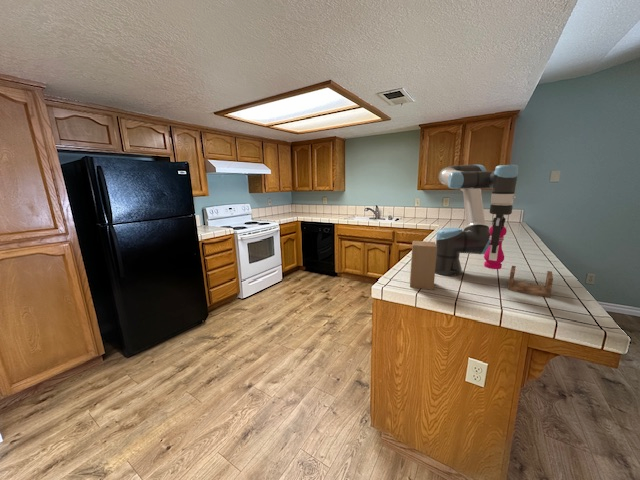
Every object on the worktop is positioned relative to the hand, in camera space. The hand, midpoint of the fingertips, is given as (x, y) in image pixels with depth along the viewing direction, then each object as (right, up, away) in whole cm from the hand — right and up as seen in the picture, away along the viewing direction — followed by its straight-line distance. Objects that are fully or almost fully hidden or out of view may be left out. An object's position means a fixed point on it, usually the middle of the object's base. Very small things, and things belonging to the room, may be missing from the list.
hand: (493, 257), depth 110 cm
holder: (+18, -14, +4) cm, 23 cm away
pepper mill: (0, -4, +1) cm, 4 cm away
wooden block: (-27, -14, +11) cm, 32 cm away
